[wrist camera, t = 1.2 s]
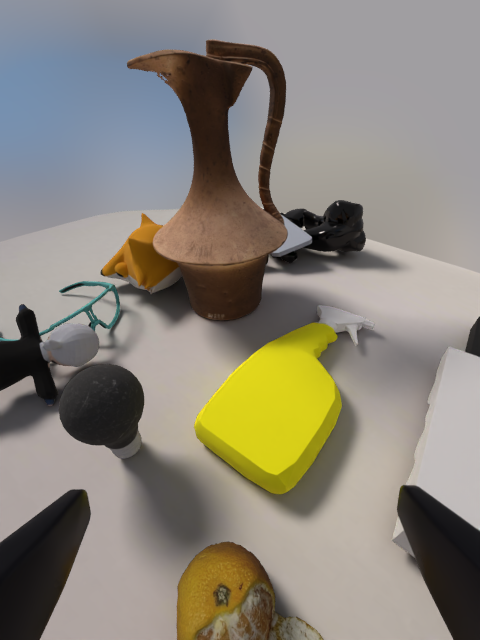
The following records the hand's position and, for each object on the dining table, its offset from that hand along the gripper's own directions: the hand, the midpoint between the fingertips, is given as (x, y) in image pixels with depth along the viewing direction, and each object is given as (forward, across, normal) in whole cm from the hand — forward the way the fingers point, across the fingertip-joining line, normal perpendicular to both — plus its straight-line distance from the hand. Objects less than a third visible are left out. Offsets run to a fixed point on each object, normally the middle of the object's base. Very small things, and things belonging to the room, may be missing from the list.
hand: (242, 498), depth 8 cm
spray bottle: (+22, -6, +7) cm, 24 cm away
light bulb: (+15, +10, +11) cm, 21 cm away
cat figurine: (+51, -12, -6) cm, 52 cm away
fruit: (+4, +1, +16) cm, 16 cm away
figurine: (+16, +29, +4) cm, 34 cm away
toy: (+41, +13, -1) cm, 43 cm away
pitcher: (+36, +2, +1) cm, 36 cm away
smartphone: (+42, -9, -6) cm, 44 cm away
